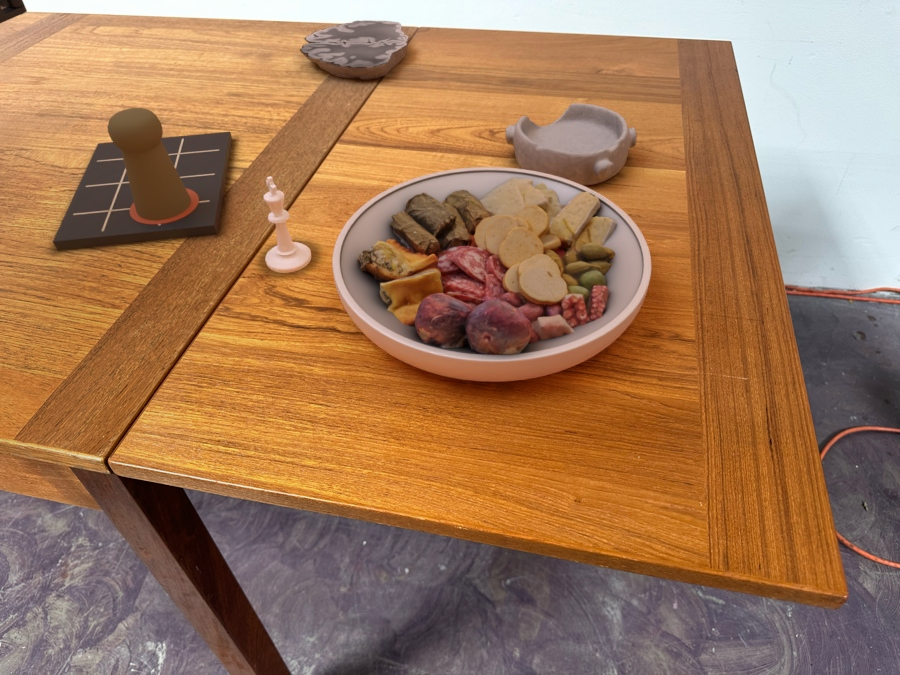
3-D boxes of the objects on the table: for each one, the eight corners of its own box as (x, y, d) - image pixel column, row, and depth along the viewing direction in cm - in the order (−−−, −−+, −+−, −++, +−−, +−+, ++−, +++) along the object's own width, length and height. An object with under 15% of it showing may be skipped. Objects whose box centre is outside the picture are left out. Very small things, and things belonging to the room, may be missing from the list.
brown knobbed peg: (195, 189, 78) (165, 98, 70) (185, 218, 74) (152, 125, 66) (143, 192, 78) (107, 102, 70) (130, 222, 73) (90, 129, 66)
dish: (491, 163, 84) (493, 126, 80) (560, 125, 91) (563, 90, 87) (585, 207, 77) (590, 168, 73) (651, 162, 83) (659, 125, 80)
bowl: (349, 209, 77) (341, 147, 72) (606, 199, 78) (616, 137, 72) (325, 408, 56) (310, 342, 50) (680, 393, 56) (703, 326, 51)
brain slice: (316, 38, 116) (313, 20, 113) (413, 38, 115) (412, 20, 113) (292, 86, 102) (289, 67, 99) (403, 86, 101) (401, 67, 99)
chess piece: (276, 281, 68) (254, 197, 61) (258, 257, 71) (235, 174, 64) (320, 264, 70) (304, 181, 63) (301, 241, 73) (283, 159, 66)
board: (58, 252, 72) (51, 240, 71) (102, 153, 88) (97, 142, 87) (217, 236, 74) (213, 224, 73) (233, 141, 89) (230, 130, 88)
